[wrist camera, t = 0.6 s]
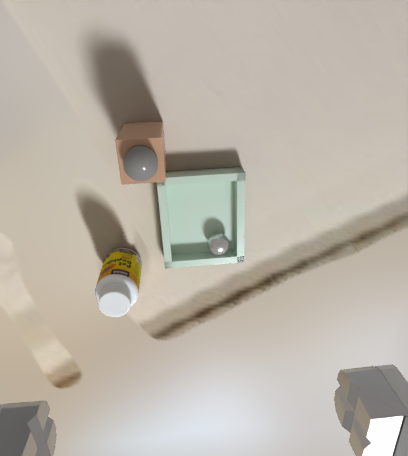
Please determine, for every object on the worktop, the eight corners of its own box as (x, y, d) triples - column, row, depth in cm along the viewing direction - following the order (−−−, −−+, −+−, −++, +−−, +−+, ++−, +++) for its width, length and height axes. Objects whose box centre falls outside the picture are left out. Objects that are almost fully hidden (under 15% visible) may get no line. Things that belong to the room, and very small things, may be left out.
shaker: (124, 123, 45) (113, 143, 36) (162, 121, 45) (161, 140, 36) (129, 160, 47) (120, 188, 38) (165, 158, 47) (165, 185, 38)
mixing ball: (206, 230, 51) (208, 240, 49) (227, 228, 52) (230, 238, 49) (206, 248, 53) (208, 259, 50) (227, 247, 53) (231, 258, 50)
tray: (156, 172, 48) (156, 178, 45) (241, 166, 48) (245, 172, 46) (165, 259, 53) (165, 268, 51) (240, 253, 54) (244, 262, 52)
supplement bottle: (138, 243, 52) (132, 283, 43) (144, 275, 54) (140, 319, 46) (100, 248, 52) (86, 289, 43) (108, 280, 54) (97, 325, 45)
